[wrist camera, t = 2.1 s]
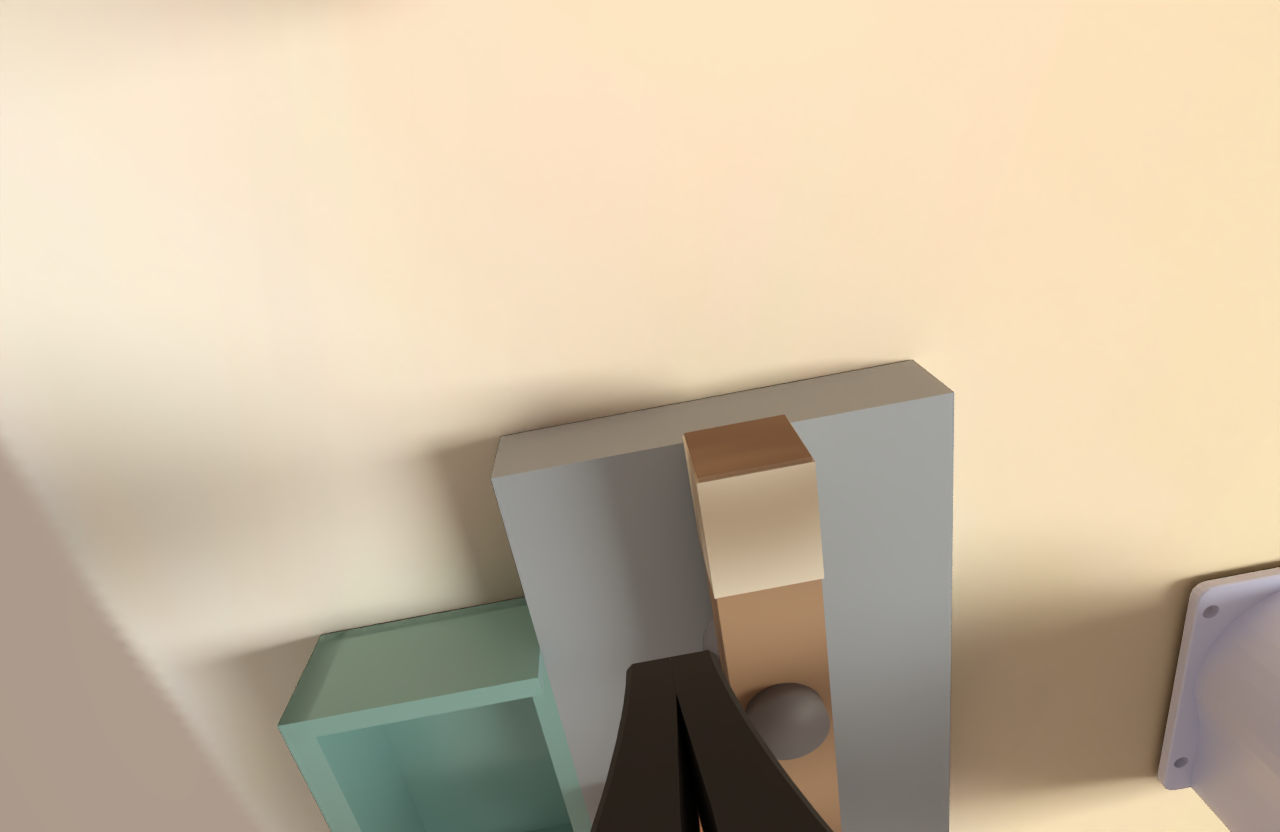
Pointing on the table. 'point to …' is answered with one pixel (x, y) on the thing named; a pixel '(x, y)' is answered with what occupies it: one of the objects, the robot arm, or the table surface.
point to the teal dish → (435, 727)
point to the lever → (769, 591)
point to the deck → (678, 587)
